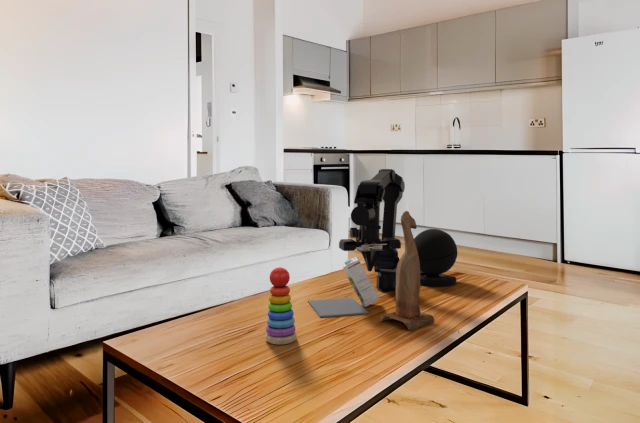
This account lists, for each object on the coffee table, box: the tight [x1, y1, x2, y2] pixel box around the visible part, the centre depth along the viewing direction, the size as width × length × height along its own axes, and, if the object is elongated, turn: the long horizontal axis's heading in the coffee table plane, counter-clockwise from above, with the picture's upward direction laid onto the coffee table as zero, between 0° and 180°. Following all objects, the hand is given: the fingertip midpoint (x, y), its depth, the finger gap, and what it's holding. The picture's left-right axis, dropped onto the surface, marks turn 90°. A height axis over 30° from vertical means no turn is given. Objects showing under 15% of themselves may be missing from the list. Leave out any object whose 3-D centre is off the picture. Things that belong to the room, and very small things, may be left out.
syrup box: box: [341, 256, 380, 308], centre depth 155 cm, size 6×6×14 cm
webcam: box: [413, 228, 458, 288], centre depth 186 cm, size 17×17×20 cm
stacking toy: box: [265, 266, 297, 345], centre depth 125 cm, size 8×8×19 cm
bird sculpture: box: [380, 210, 435, 332], centre depth 138 cm, size 11×12×32 cm
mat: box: [307, 297, 370, 318], centre depth 153 cm, size 15×16×1 cm
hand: (369, 271), depth 154 cm, fingers closed
